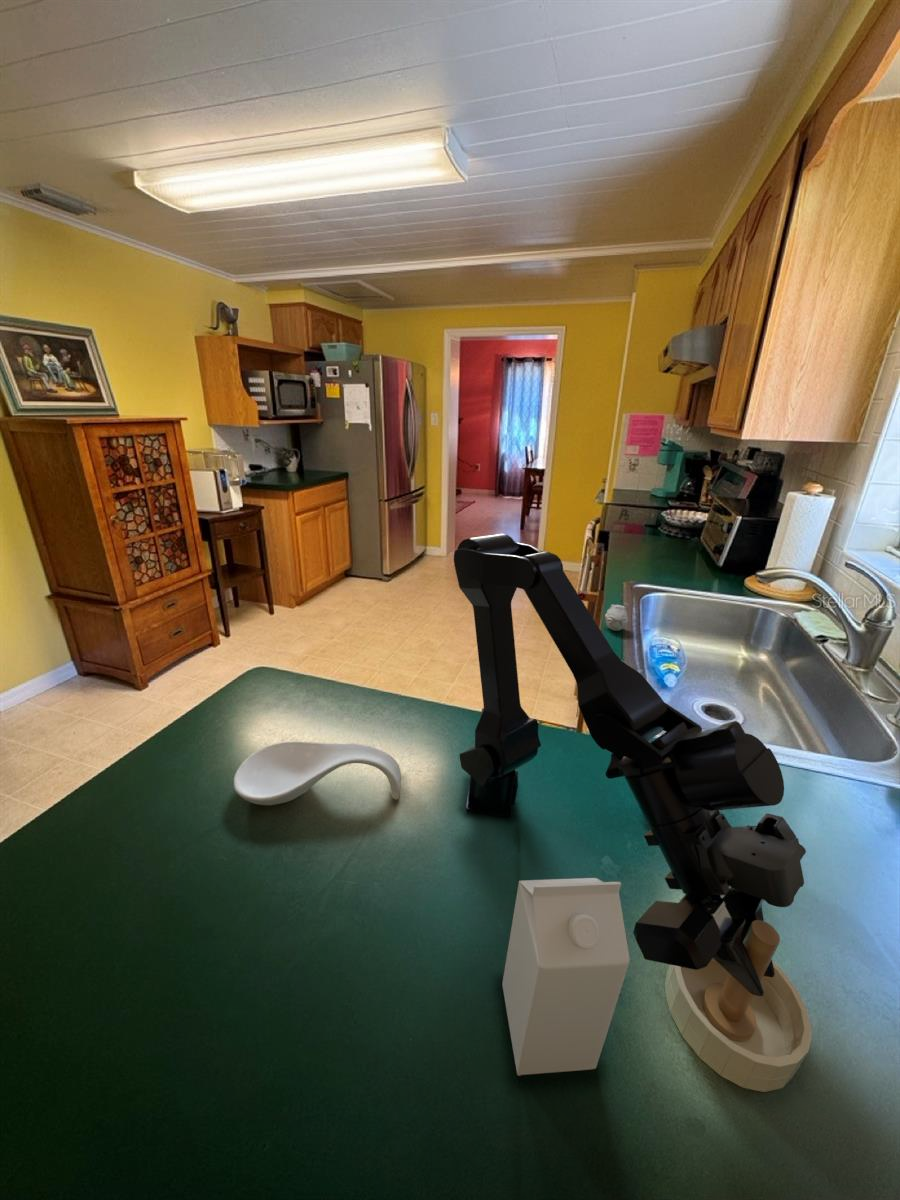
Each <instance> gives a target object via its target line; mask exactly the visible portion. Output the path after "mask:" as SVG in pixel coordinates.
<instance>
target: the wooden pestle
mask: <svg viewBox="0 0 900 1200" xmlns="http://www.w3.org/2000/svg"><path fill="white" fill-rule="evenodd" d="M743 943H744V946H745V948H746V950H747V952H748V955H749V957H750V959H751V961H752V964H753V966H754V968H755V970H756V973H757V975H758V977H759V980H760V982H761V980H762V978H763V976H764V973H765V971H766V969H767V967H768V965H769V963H770V961H771V959H772V960H773V957H774V955H775V954H776V951H777V949H778V947H779V945H780V943H781V937H780V935H779V933H778V931H777V930H776V929H775V928H774V926H773V925H772V924H769V923H768V922H766V921H765V920H764V921H762V920H754V921H753V922H752V923H751V925H750V927H749V930H748V932H747V934H746V936H745V939H744V941H743ZM753 996H754V995H753V994H751V993H750V992H749V991H748V990H747V989H745V988H744V987H743V986H742V985H741V984H740V983H739V982H738V981H737V980H736V979H735V978H734V977H733V976H732V975H731V974H730V973H729V975H728V977H727V979H726V981H725V984H723V983H712V984H710V985H709V986H708V987H707V988H706V990H705V993H704V995H703V1008H704V1011H705V1014H706V1016H707V1018H708V1019H709V1021H710V1022H711V1024H712V1025H713V1026H714V1027H715V1028H716V1029H717V1030H718V1031H719V1032H720V1033H722V1034H723V1035H724V1036H725V1037H727V1038H729V1039H731V1040H733V1041H737V1042H744V1041H747V1040H749V1039H750V1038H751V1037H752V1035H753V1033H754V1031H755V1029H756V1018H755V1014H754V1012H753V1009H752V1008H751V1006H750V1002H751V1000H752V998H753Z"/></svg>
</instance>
